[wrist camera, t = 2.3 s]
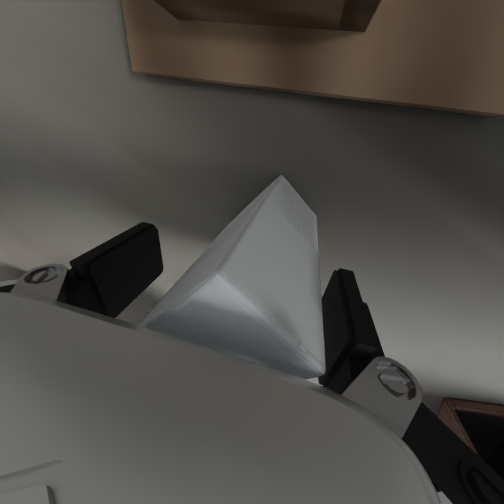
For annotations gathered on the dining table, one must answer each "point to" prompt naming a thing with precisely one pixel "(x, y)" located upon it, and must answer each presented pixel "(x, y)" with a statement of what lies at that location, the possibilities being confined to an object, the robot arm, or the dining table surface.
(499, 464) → the letter holder
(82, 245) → the dining table surface
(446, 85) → the box stand
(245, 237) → the skincare box
